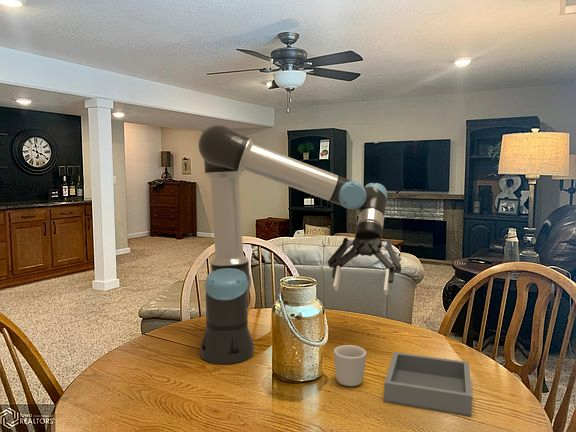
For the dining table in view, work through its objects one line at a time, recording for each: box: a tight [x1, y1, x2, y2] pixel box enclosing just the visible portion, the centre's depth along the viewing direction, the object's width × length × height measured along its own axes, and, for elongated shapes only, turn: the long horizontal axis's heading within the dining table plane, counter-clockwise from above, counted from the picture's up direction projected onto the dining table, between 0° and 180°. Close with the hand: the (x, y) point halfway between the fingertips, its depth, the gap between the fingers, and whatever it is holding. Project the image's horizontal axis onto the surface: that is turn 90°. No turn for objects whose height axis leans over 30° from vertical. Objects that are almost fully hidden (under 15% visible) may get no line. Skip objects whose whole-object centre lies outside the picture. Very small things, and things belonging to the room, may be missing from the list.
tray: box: [383, 351, 473, 417], centre depth 109 cm, size 18×18×4 cm
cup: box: [333, 344, 367, 387], centre depth 114 cm, size 11×8×8 cm
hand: (360, 290), depth 122 cm, fingers open, 13 cm apart
